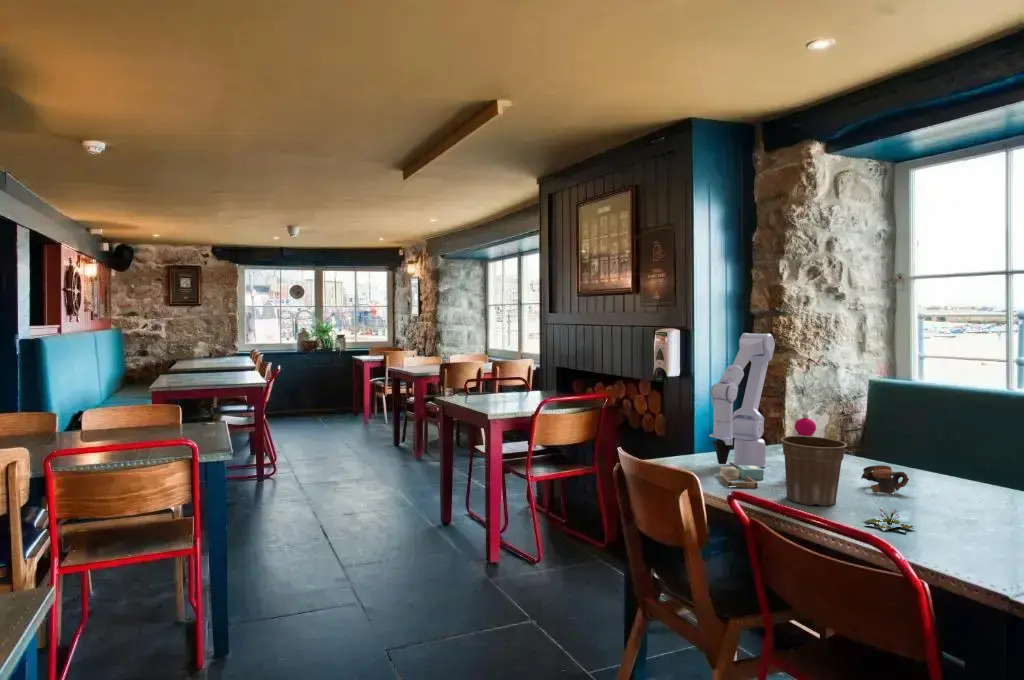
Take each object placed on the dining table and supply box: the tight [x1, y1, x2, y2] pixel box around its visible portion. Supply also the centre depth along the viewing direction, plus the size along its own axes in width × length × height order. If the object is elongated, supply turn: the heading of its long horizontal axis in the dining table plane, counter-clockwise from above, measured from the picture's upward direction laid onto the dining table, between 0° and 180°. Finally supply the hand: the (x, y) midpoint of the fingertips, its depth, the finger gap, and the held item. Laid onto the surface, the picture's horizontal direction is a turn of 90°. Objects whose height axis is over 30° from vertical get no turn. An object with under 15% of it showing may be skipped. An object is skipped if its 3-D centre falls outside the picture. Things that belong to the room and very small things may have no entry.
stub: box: [719, 466, 740, 480], centre depth 211 cm, size 4×5×3 cm
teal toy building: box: [736, 465, 765, 481], centre depth 211 cm, size 6×6×3 cm
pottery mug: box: [860, 464, 910, 494], centre depth 197 cm, size 12×10×8 cm
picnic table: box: [720, 476, 759, 489], centre depth 202 cm, size 8×8×2 cm
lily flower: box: [864, 507, 914, 531], centre depth 163 cm, size 12×12×5 cm
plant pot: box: [780, 435, 848, 507], centre depth 185 cm, size 16×16×16 cm
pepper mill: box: [794, 412, 817, 437], centre depth 210 cm, size 7×7×20 cm
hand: (722, 463), depth 219 cm, fingers closed
